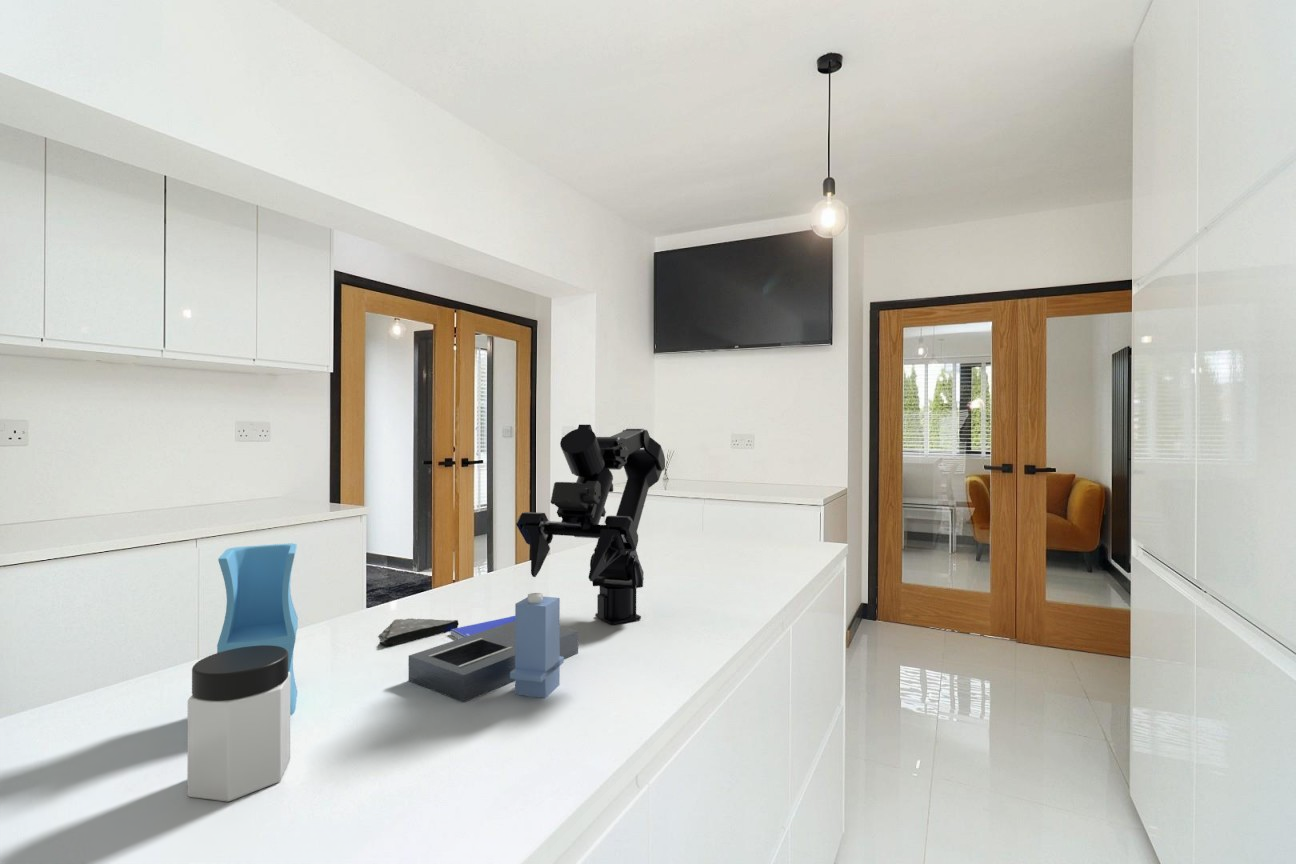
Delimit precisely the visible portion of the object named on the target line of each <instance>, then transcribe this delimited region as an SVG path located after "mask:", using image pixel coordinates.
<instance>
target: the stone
mask: <svg viewBox="0 0 1296 864" xmlns="http://www.w3.org/2000/svg"><path fill="white" fill-rule="evenodd" d="M455 628H459V620H458V619H454V620H453V619H452V620H451V619H446V620H445V619H432V618H431V619H429V618H426V619H424V618H405V619H404V618H403V619H402V618H397V619H394V620H393V621H392V623H391V622H390V624H389V625H388V626H387V627H386V628H385V629H384V630H383V631H382V632H381V633H380V634H378V637H380V638H381V639H382V640H381V641H379V646H399V645H404V644H407V643H411V642H414V641H419V640H422V639H425V638H426V639H427V638H428V637H429V638H430V637H433V636H437V635H440V634H443V633H448V632H451V629H455Z"/></svg>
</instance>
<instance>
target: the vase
mask: <svg viewBox="0 0 1296 864" xmlns="http://www.w3.org/2000/svg"><path fill="white" fill-rule="evenodd" d="M297 547H298V545H297V543H294V542H293V543H292V542H291V543H277V544H276V543H275V544H274V543H273V544H262V545H261V544H260V545H259V544H258V545H246V546H235V547H230V548H227V549H225V550H224V551H223V552H222V553H221V555H220V556H219V558H218V559H217V561H218V564H219V568H220V570H221V571H220V572H222V578H223V581H224V586H225V594H226V606H225V607H226V608H225V613H224V614H225V615H224V621H223V625H222V628H221V632H220V635H219V638H218V641H217V645H216V647H217V650H216V651H217V652H216V653H219V652H223V651H227V650H231V649H236V648H241V647H249V646H260V645H271V646H279V647H282V648H285V649H286V650H287V651H288V672H290V674H291V677H290V716H291V715H293V714H295V711H296V709H297V697H298V689H297V688H298V687H297V685H296V683H297V682H296V681H295V680H296V678H295V673H294V672H295V671H294V649H295V645H296V639H297V638H296V637H297V632H298V627H299V626H298V625H299V624H298V623H299V622H298V620H299V618H298V615H297V612H296V609H295V606H294V603H293V599H292V593H291V580H292V571H293V565H294V561H295V560H294V559H295V554H296V551H297Z"/></svg>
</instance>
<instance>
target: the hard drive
mask: <svg viewBox="0 0 1296 864" xmlns="http://www.w3.org/2000/svg"><path fill="white" fill-rule="evenodd" d="M513 621H515V615H512V616H508V617H502V618H498V619H493V620H490V621H489V620H488V621H483V622H478V623H475V624H469V625H465V626H460V627H459V626H458V627H457V628H455V629H451V631H450V635H451V636H453V637H455V638H456V639H457V640H458V639H461V638H464V637H467V636H470V635H473V634H476V633H479V632H482V631H485V630H488V629H491V628H494V627H497V626H501V625H504V624H507V623H510V622H513Z"/></svg>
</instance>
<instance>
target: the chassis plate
mask: <svg viewBox="0 0 1296 864" xmlns="http://www.w3.org/2000/svg"><path fill="white" fill-rule="evenodd" d="M578 653H579V630H576V629H573V628H569V627H564V626H561V625H560V656H561V657H564V660H565V659H567V658H569V657H572V656H575V655H577V654H578ZM514 669H515V621H513V622H510V623H507V624H504V625H501V626H497V627H494V628H491V629H488V630H485V631H482V632H479V633H476V634H473V635H470V636H467V637H464V638H461V639H458V638H457V639H455V640H453V641H449V642H446V643H443V644H439V645H437V646H434V647H431V648H428V649H425V650H422V651H419V652H415V653H413V654H410V655H408V682H411V683H413V684H416V685H419V686H421V687H424V688H425V689H429V690H431V691H434V692H436V693H439V694H441V695H444V696H446V697H449V698H451V699H453V700H457V701H459V702H461V703H465V702H467V701H470V700H472V699H475V698H478V697H479V696H481V695H484V694H486V693H489V692H491V691H493V690H495V689H497V688H500V687H503V686H505V685H507V684H510V683H512V682H515V679H510V672H511V671H513V670H514Z"/></svg>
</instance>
